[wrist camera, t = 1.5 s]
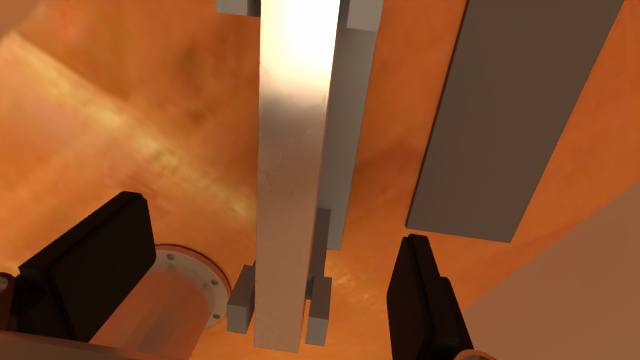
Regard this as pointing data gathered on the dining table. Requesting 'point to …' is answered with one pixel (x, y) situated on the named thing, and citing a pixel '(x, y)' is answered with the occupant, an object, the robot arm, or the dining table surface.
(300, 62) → the rail
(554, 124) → the mat
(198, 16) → the dining table surface
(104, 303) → the robot arm
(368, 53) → the rack
